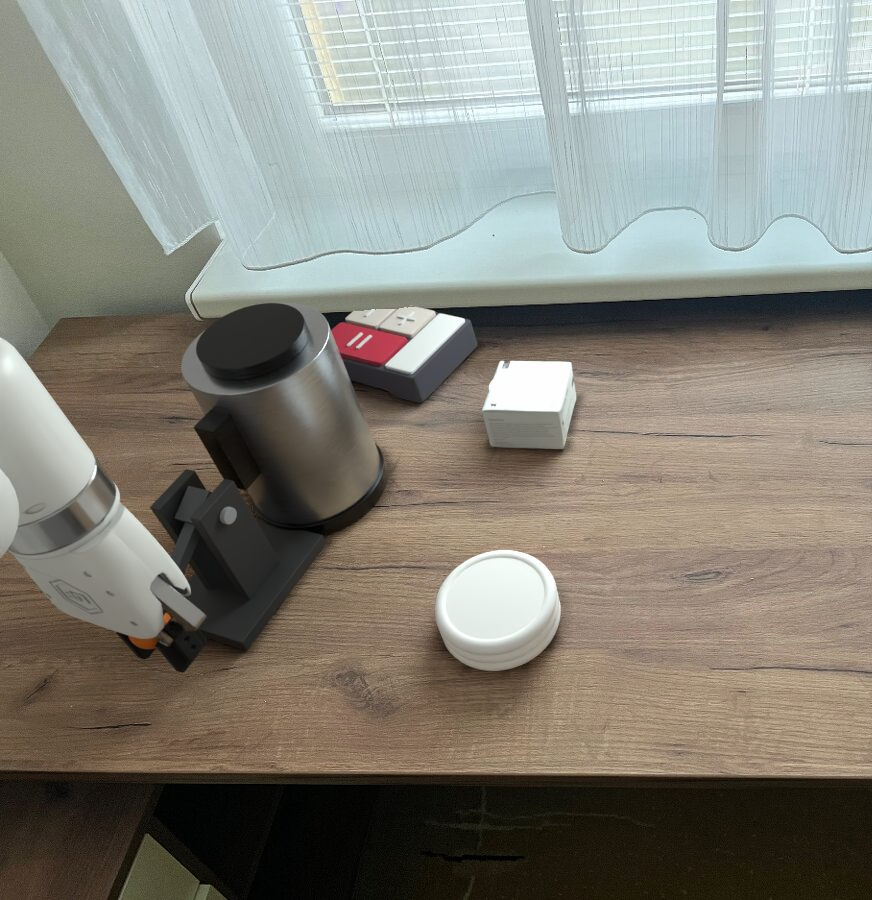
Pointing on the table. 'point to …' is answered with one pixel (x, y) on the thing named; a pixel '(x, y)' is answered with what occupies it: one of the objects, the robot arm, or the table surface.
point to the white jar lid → (498, 610)
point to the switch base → (236, 560)
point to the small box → (530, 404)
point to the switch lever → (181, 545)
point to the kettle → (285, 417)
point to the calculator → (403, 349)
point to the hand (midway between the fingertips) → (173, 649)
